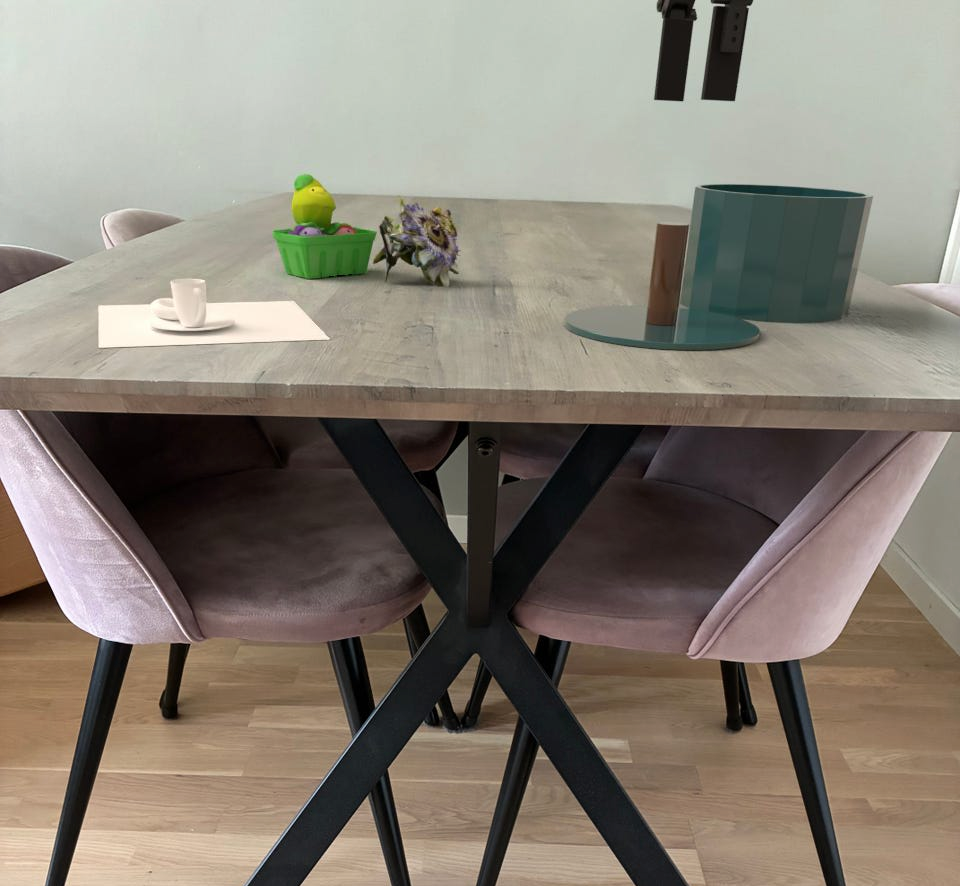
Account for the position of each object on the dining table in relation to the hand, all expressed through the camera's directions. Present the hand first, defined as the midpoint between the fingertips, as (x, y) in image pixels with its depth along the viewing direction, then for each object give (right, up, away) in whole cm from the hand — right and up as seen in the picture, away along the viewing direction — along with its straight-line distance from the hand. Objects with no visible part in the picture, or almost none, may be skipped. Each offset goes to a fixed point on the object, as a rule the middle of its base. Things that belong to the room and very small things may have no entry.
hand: (691, 101), depth 85 cm
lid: (-1, -18, +9) cm, 20 cm away
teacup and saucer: (-45, -17, +7) cm, 49 cm away
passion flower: (-27, -5, +31) cm, 42 cm away
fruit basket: (-39, -2, +37) cm, 53 cm away
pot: (+13, -11, +22) cm, 28 cm away
